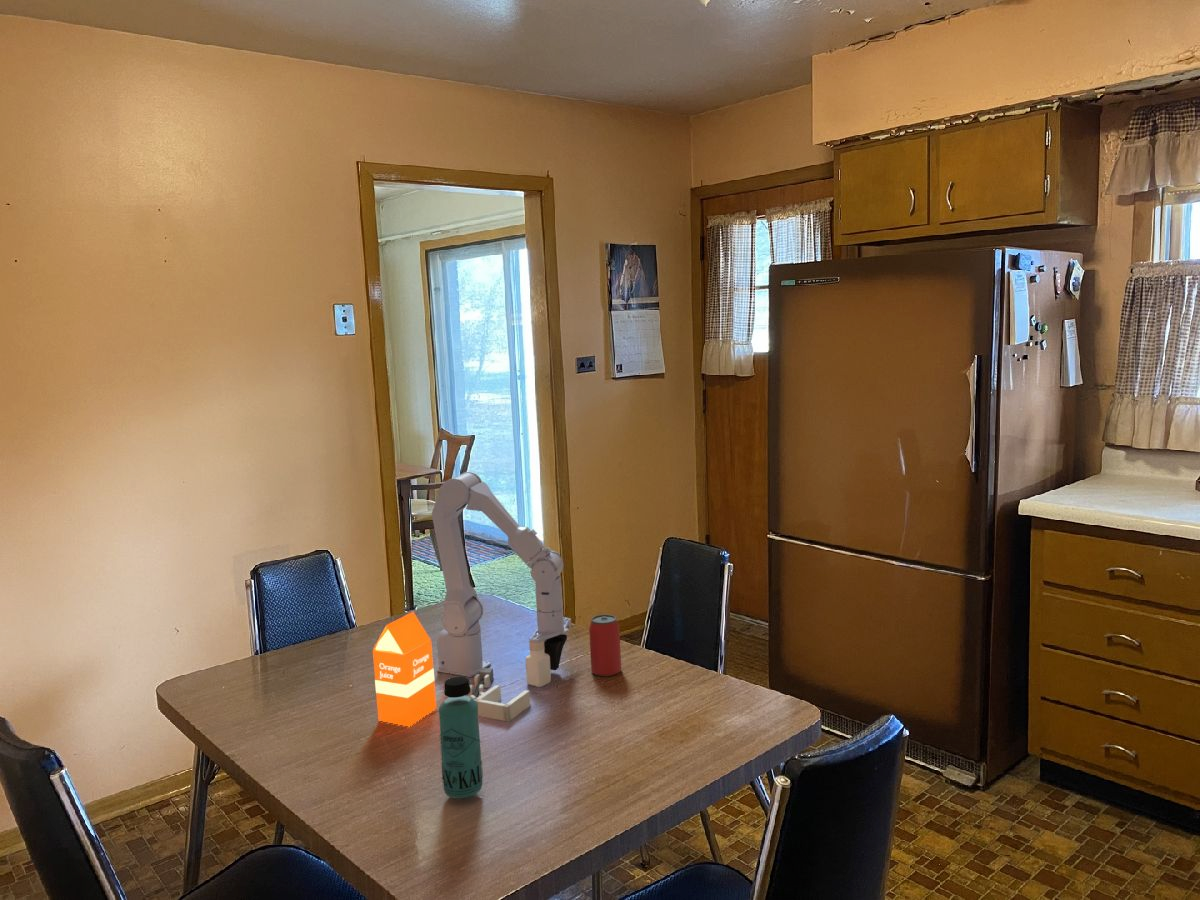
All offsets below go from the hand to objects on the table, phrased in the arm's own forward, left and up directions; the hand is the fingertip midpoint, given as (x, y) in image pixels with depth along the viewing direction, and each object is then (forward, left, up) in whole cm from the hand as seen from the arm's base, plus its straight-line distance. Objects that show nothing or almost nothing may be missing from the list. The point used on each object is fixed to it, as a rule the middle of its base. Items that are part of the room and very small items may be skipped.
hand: (553, 668), depth 191 cm
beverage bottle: (+12, -50, -1) cm, 52 cm away
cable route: (-8, -15, -1) cm, 17 cm away
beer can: (+10, +5, -1) cm, 12 cm away
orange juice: (-17, -29, -1) cm, 33 cm away
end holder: (0, -20, -1) cm, 20 cm away
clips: (-8, -16, -1) cm, 18 cm away
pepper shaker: (0, -6, -1) cm, 6 cm away
